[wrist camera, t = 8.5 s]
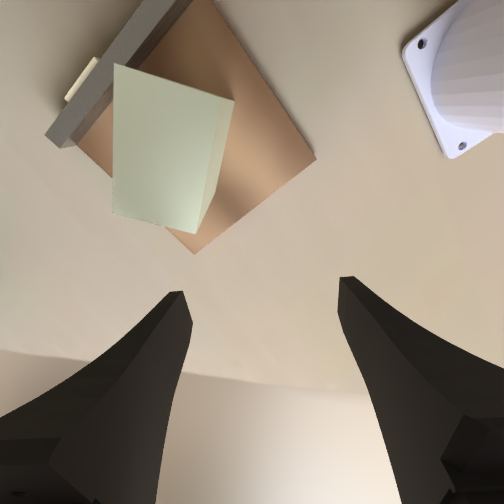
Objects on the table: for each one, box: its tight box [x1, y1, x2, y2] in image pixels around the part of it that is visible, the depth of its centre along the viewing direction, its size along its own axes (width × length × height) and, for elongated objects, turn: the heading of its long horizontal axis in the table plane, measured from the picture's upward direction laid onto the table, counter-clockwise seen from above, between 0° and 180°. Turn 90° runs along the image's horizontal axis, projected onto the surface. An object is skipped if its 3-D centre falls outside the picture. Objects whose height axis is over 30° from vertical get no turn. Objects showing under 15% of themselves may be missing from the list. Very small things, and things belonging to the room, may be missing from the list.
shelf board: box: [45, 0, 317, 254], centre depth 17 cm, size 12×12×2 cm
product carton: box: [112, 63, 235, 234], centre depth 14 cm, size 4×6×7 cm
